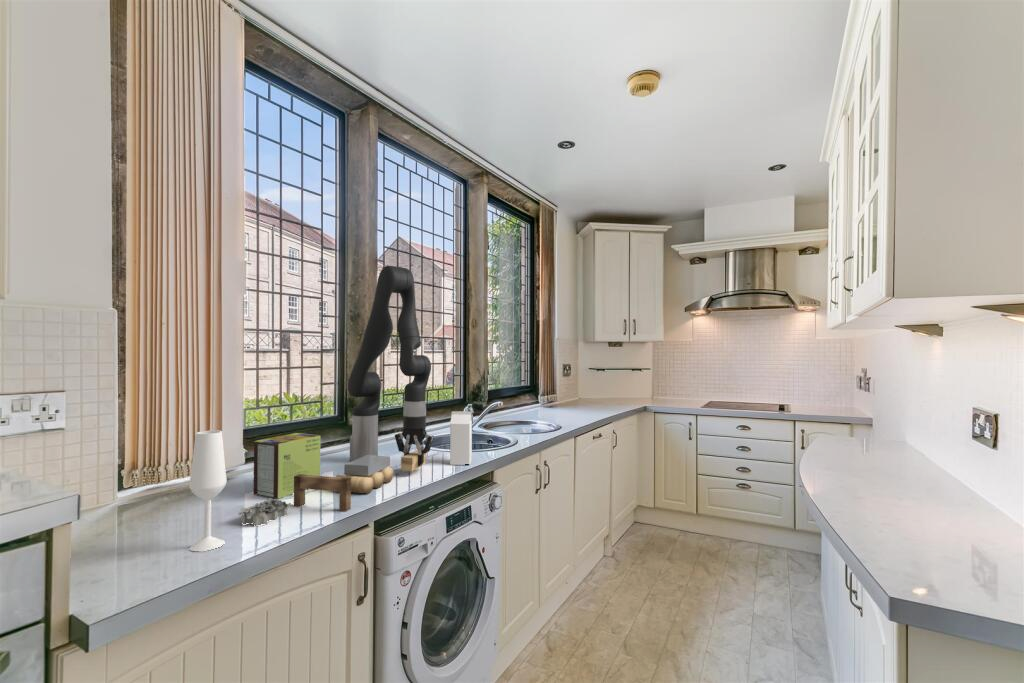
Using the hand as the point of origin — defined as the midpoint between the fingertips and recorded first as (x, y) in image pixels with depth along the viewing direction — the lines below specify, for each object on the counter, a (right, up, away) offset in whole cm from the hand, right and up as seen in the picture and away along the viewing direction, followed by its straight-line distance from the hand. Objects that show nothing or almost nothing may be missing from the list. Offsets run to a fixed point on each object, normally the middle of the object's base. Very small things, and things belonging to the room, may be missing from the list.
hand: (413, 464), depth 162 cm
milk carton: (+14, -3, +15) cm, 21 cm away
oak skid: (0, -1, 0) cm, 1 cm away
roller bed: (-12, -3, -16) cm, 20 cm away
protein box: (-33, -3, -20) cm, 39 cm away
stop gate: (-17, -2, -36) cm, 40 cm away
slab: (-11, +2, -14) cm, 18 cm away
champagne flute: (-31, -2, -60) cm, 68 cm away
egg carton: (-28, -2, -44) cm, 52 cm away
